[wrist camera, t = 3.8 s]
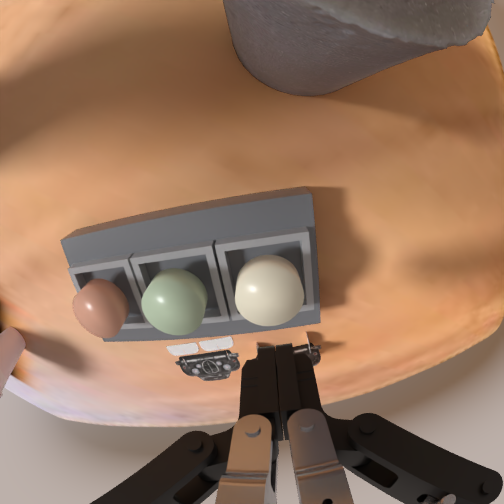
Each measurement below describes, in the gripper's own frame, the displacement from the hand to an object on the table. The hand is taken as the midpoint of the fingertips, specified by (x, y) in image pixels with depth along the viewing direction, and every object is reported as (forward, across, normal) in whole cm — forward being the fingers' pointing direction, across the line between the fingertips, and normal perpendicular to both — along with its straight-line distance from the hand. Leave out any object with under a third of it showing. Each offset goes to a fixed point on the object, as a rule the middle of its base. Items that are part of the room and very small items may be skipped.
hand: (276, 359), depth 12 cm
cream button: (+7, 0, 0) cm, 7 cm away
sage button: (+6, +6, 0) cm, 9 cm away
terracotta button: (+6, +12, 0) cm, 14 cm away
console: (+10, +6, 0) cm, 12 cm away
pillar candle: (+11, -5, -16) cm, 20 cm away
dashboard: (+11, +4, +10) cm, 15 cm away
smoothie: (+10, +35, +7) cm, 37 cm away
